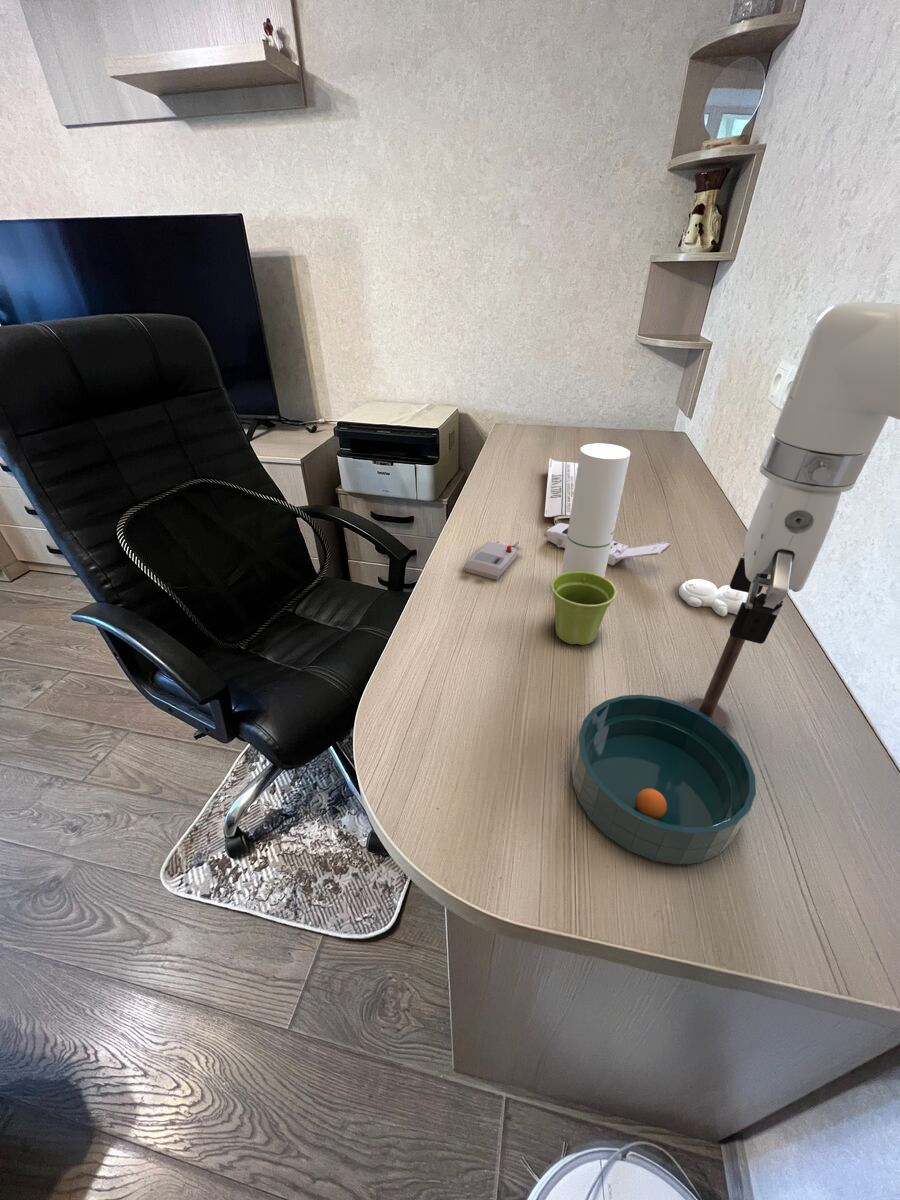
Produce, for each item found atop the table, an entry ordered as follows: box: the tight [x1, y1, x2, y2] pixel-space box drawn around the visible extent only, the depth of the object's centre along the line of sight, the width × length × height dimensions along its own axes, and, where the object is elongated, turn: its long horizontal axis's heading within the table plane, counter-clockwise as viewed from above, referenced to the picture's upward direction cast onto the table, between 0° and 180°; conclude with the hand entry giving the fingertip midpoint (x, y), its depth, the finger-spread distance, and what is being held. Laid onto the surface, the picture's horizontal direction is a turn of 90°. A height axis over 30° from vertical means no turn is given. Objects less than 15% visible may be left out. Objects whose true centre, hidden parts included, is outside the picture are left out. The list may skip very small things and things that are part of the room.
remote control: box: [464, 541, 520, 581], centre depth 96 cm, size 7×16×3 cm, turn 152°
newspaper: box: [543, 457, 579, 525], centre depth 122 cm, size 35×12×4 cm, turn 172°
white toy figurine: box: [678, 578, 748, 617], centre depth 85 cm, size 9×12×3 cm
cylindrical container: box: [560, 442, 631, 578], centre depth 81 cm, size 7×7×25 cm
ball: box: [635, 789, 667, 820], centre depth 52 cm, size 3×3×3 cm
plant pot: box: [550, 571, 618, 646], centre depth 76 cm, size 9×9×9 cm
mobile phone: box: [545, 523, 671, 566], centre depth 97 cm, size 6×6×25 cm
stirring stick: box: [684, 634, 746, 729], centre depth 60 cm, size 5×5×15 cm
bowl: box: [571, 693, 757, 865], centre depth 54 cm, size 17×17×6 cm
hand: (744, 613), depth 55 cm, fingers open, 9 cm apart
